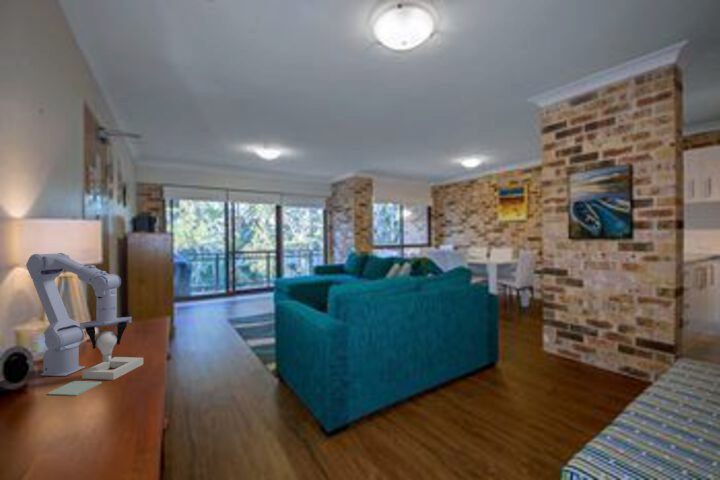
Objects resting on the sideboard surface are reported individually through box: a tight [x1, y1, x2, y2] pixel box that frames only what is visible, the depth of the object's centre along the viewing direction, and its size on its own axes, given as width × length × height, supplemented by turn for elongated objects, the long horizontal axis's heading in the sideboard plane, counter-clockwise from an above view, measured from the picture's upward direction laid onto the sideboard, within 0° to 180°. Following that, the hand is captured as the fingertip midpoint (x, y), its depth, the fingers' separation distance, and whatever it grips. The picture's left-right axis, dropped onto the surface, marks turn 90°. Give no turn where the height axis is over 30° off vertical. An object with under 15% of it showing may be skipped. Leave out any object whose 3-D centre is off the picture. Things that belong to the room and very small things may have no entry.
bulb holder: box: [81, 356, 144, 381], centre depth 119 cm, size 12×14×2 cm
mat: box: [46, 380, 103, 397], centre depth 105 cm, size 10×9×1 cm
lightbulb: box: [95, 330, 118, 362], centre depth 116 cm, size 6×6×11 cm
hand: (106, 345), depth 116 cm, fingers closed on lightbulb, 6 cm apart
